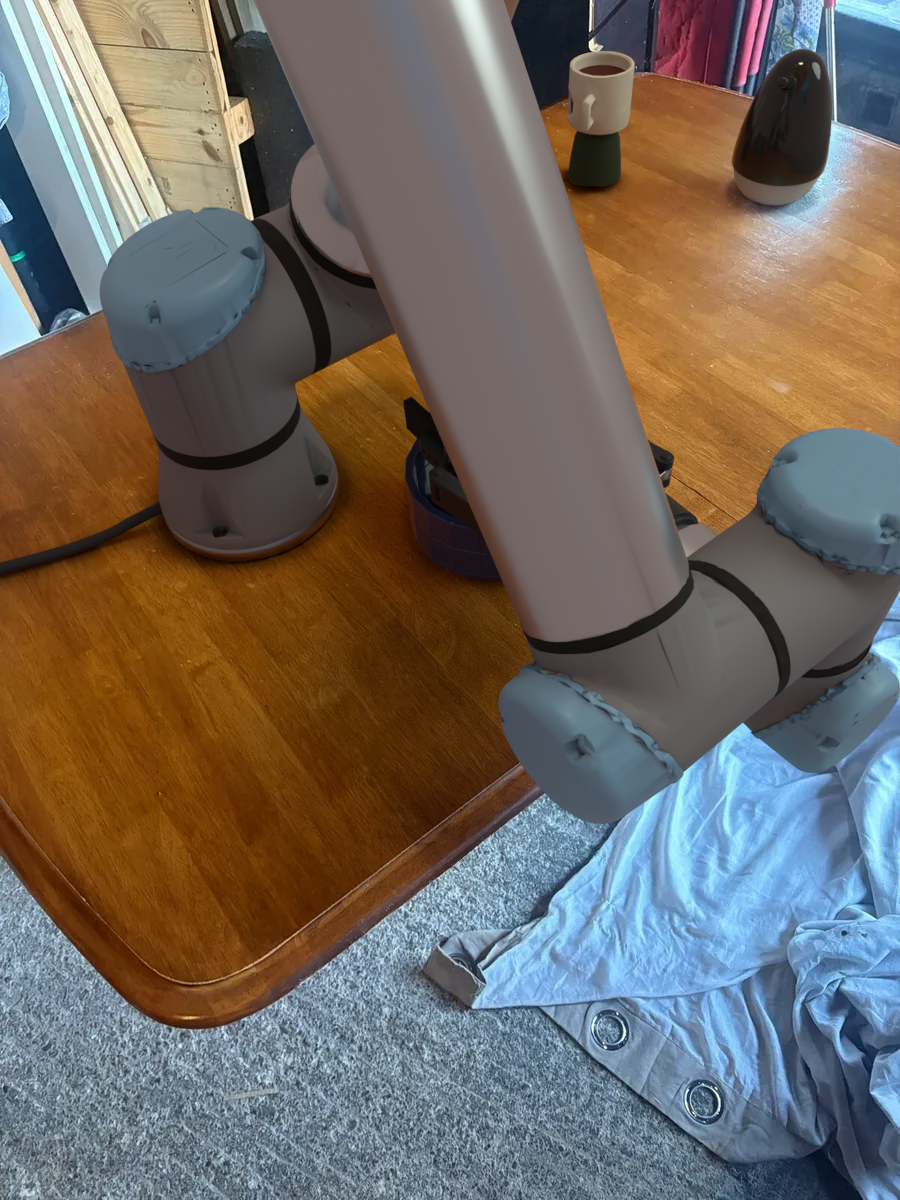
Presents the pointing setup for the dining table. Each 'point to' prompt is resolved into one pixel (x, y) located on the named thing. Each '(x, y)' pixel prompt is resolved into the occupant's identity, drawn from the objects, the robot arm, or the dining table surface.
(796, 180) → the dark brown egg shape
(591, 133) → the character mug
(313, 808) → the dining table surface
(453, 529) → the pot
